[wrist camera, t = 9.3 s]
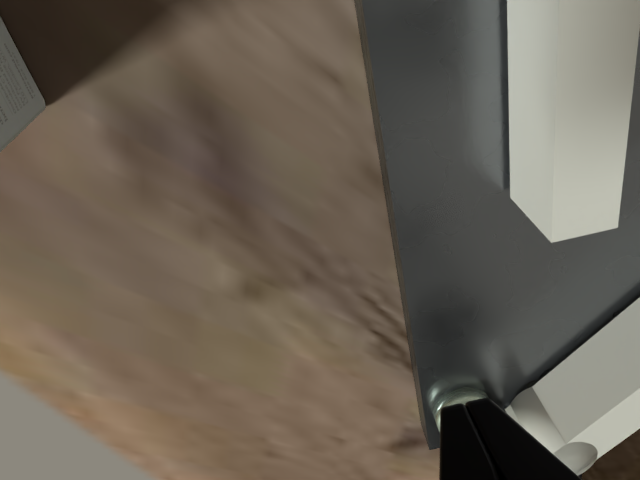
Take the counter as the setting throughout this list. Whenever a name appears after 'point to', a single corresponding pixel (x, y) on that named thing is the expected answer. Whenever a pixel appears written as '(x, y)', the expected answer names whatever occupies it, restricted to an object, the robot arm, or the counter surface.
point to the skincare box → (15, 91)
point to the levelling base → (479, 211)
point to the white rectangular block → (587, 396)
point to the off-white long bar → (570, 110)
